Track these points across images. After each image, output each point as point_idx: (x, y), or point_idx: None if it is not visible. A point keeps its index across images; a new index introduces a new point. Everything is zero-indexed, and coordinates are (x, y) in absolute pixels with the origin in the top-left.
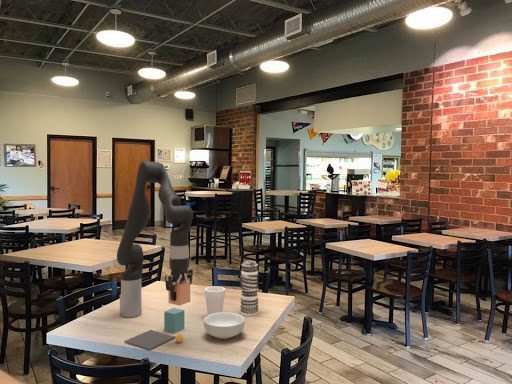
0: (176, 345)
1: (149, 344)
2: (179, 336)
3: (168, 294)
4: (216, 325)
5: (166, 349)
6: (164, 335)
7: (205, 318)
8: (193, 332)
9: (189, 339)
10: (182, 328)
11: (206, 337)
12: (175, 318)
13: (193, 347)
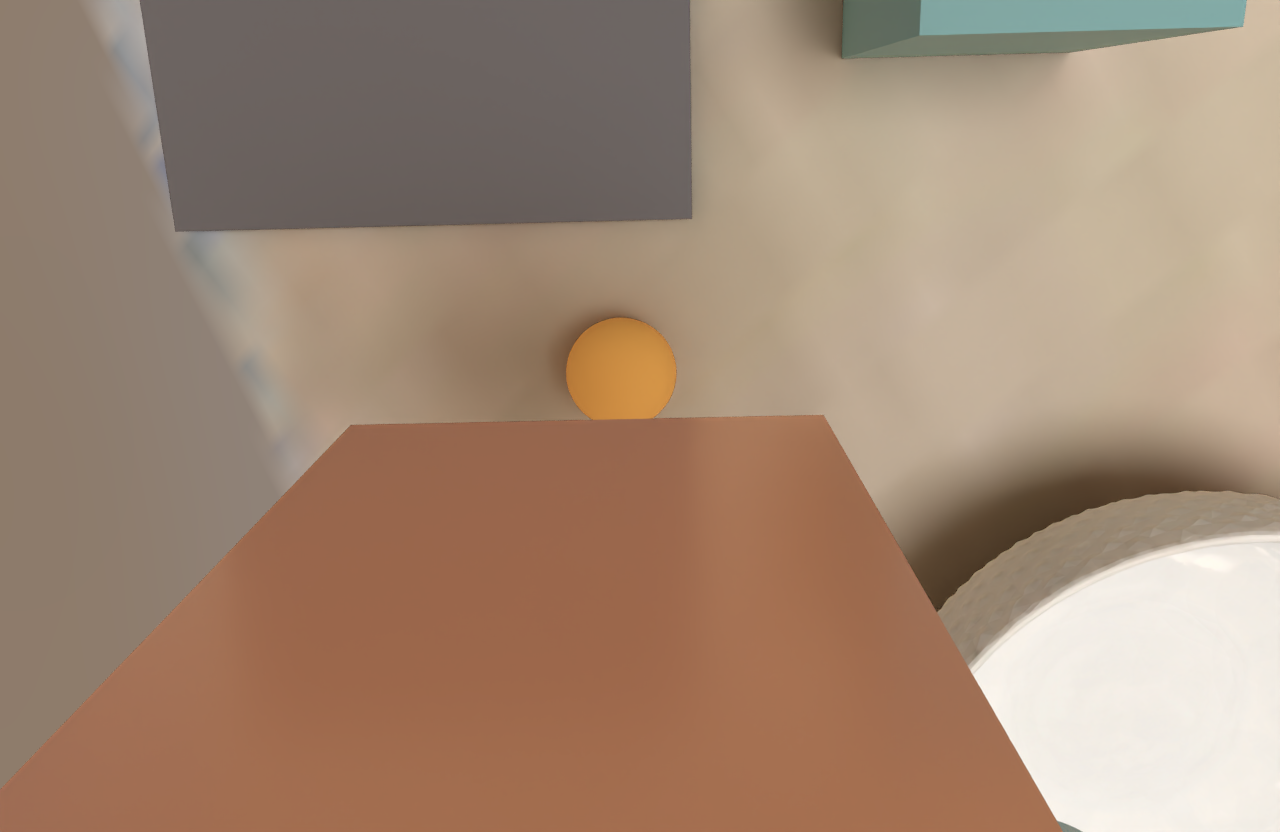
0: (517, 402)
1: (268, 103)
2: (593, 406)
3: (250, 530)
4: (1253, 545)
5: (352, 382)
6: (632, 36)
7: (1130, 566)
8: (998, 289)
9: (764, 411)
10: (1028, 51)
11: (936, 551)
12: (912, 43)
13: None
